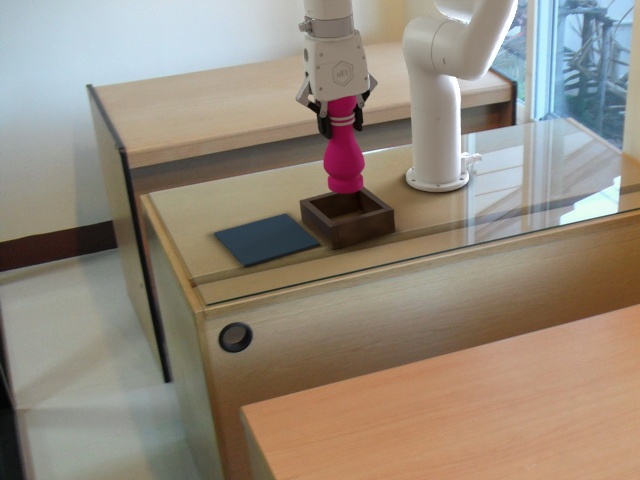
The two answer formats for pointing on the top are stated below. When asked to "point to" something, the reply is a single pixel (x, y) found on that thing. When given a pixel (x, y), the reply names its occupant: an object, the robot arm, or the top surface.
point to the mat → (266, 239)
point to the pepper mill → (343, 149)
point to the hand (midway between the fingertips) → (341, 131)
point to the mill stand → (352, 229)
